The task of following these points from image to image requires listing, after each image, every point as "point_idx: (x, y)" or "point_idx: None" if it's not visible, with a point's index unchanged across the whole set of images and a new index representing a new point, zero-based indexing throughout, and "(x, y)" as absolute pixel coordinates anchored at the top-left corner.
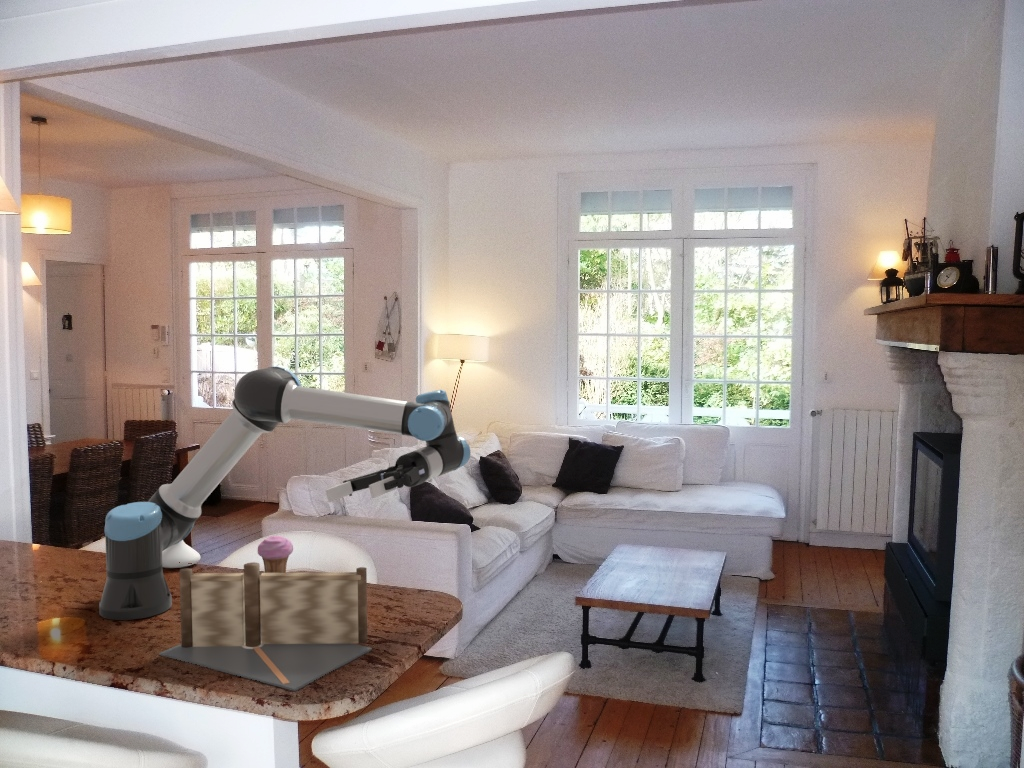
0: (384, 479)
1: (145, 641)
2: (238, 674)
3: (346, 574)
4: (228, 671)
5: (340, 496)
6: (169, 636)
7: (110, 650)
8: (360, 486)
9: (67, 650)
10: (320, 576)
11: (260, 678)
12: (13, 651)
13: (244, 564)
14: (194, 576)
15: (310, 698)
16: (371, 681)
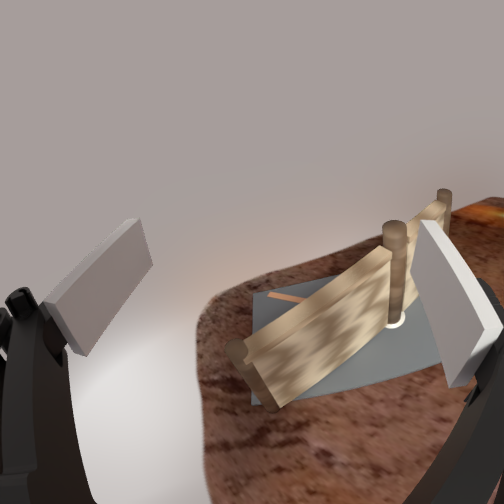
0: (83, 265)
1: (474, 253)
2: (327, 277)
3: (261, 333)
4: (340, 274)
5: (428, 307)
6: (478, 270)
7: (465, 232)
8: (456, 429)
9: (480, 215)
10: (300, 304)
11: (299, 285)
12: (492, 197)
13: (402, 222)
14: (432, 202)
15: (232, 296)
16: (201, 345)
